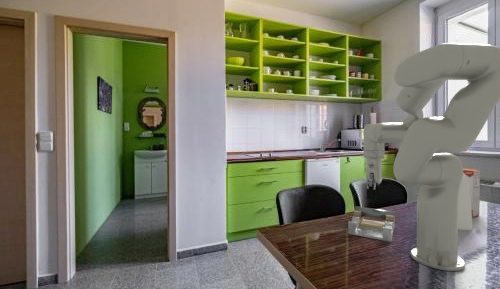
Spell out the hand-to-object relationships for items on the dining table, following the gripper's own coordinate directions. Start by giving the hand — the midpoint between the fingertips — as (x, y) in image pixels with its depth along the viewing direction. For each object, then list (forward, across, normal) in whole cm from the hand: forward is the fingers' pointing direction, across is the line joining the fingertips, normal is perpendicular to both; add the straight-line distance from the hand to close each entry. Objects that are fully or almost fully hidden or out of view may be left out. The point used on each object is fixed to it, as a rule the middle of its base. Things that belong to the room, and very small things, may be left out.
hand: (372, 196), depth 102 cm
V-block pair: (+12, -11, -1) cm, 16 cm away
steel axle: (+9, -1, -1) cm, 9 cm away
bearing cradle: (+12, -1, -1) cm, 12 cm away
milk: (+12, +17, -26) cm, 33 cm away
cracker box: (+12, +39, -32) cm, 52 cm away
